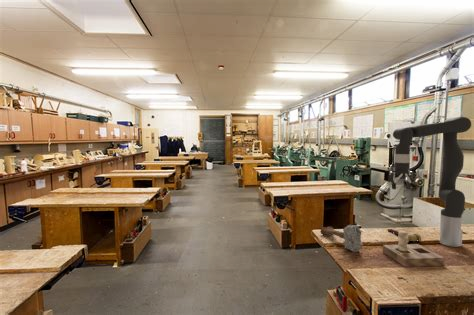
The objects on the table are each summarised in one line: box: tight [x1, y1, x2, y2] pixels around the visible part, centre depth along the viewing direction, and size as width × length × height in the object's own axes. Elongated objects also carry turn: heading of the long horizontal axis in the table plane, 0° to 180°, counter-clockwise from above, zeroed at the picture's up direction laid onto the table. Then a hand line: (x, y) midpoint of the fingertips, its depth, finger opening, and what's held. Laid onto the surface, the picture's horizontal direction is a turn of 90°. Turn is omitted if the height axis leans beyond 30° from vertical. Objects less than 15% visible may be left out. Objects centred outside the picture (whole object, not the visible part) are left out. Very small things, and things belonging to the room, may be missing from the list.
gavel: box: [387, 228, 422, 243], centre depth 154 cm, size 21×5×10 cm
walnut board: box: [382, 243, 445, 268], centre depth 123 cm, size 20×16×4 cm
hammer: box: [319, 224, 363, 253], centre depth 143 cm, size 15×10×30 cm
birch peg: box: [397, 230, 409, 253], centre depth 123 cm, size 4×4×14 cm
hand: (400, 189), depth 140 cm, fingers open, 8 cm apart
